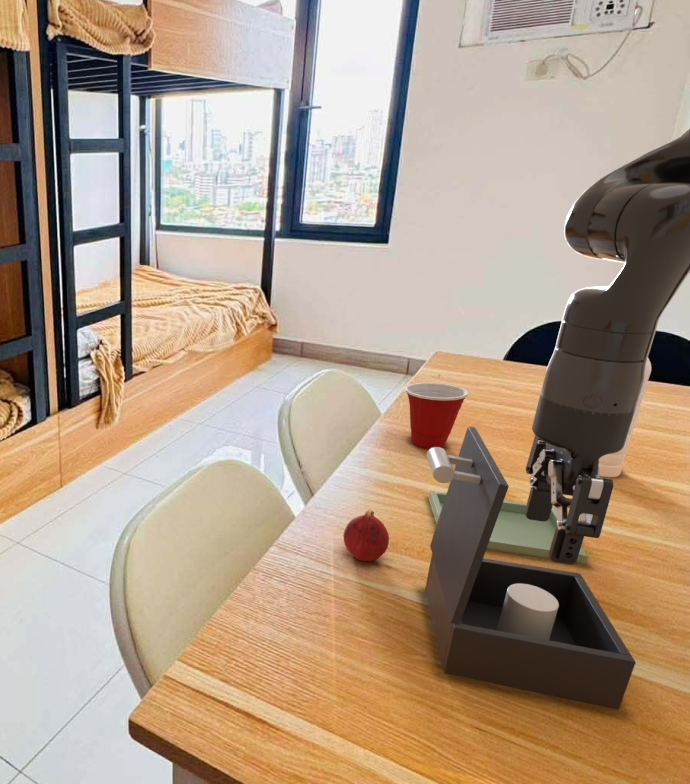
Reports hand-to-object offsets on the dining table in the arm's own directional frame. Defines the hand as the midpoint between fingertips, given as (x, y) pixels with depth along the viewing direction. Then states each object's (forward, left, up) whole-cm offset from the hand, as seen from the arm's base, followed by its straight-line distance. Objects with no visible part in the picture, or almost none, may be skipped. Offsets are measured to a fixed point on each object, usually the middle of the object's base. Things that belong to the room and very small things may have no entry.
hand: (547, 538), depth 67 cm
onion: (+16, -13, -15) cm, 25 cm away
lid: (+8, 0, +1) cm, 8 cm away
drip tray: (-4, -27, -15) cm, 31 cm away
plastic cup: (+2, -58, -15) cm, 60 cm away
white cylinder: (0, 0, -14) cm, 14 cm away
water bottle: (-26, -56, -15) cm, 64 cm away
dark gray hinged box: (+1, 0, -15) cm, 15 cm away
